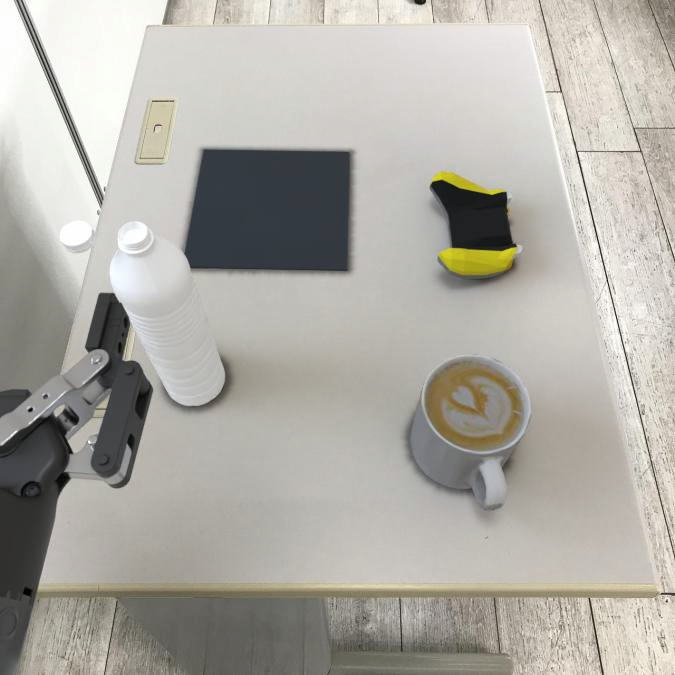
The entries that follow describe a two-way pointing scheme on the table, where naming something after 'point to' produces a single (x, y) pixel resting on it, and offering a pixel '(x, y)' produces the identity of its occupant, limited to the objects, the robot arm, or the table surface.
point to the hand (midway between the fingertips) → (37, 299)
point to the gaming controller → (474, 227)
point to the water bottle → (161, 308)
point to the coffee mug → (470, 425)
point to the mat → (270, 210)
